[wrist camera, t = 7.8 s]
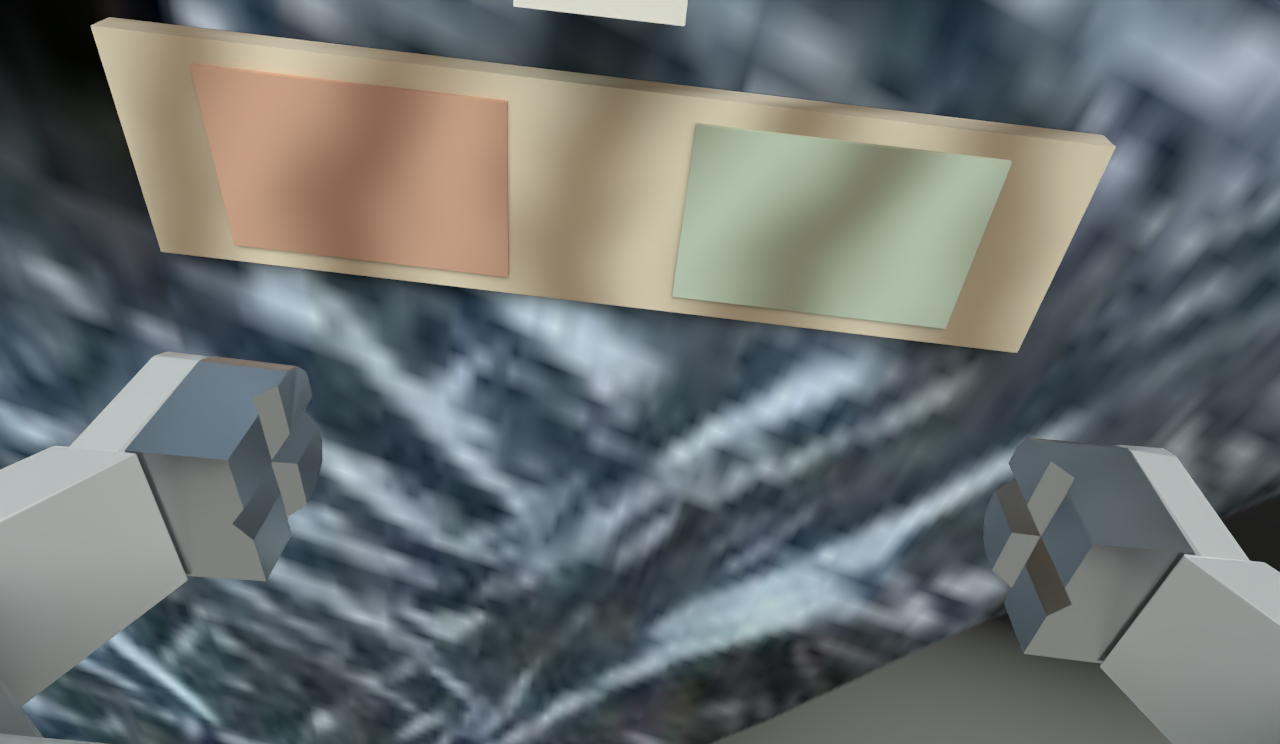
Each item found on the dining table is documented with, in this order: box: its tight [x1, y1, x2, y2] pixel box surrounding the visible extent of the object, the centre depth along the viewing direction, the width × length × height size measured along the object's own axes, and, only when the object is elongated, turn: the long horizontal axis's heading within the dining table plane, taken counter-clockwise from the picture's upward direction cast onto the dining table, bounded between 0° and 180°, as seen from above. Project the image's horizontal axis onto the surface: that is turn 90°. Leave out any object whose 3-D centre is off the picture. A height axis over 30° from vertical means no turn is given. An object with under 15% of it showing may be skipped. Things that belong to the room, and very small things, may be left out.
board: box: [91, 17, 1116, 353], centre depth 28 cm, size 32×8×1 cm, turn 85°
